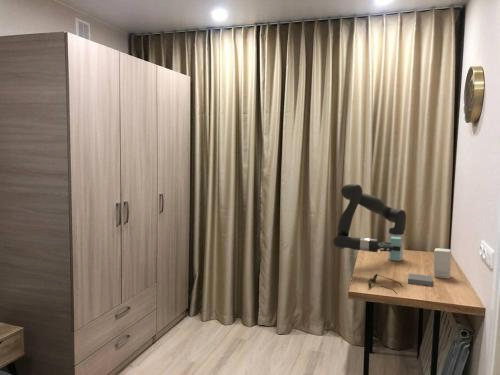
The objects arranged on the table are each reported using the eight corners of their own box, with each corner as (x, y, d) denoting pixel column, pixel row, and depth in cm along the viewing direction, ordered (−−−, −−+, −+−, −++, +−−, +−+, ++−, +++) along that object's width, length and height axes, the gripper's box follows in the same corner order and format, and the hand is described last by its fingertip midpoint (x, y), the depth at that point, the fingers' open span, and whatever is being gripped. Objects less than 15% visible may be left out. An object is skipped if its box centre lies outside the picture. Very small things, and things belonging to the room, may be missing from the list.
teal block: (390, 257, 229) (391, 236, 228) (400, 258, 227) (401, 237, 226) (390, 259, 225) (390, 238, 224) (399, 260, 223) (400, 239, 222)
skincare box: (450, 276, 231) (451, 249, 229) (449, 279, 225) (450, 251, 224) (434, 273, 235) (435, 247, 234) (433, 277, 229) (434, 250, 228)
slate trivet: (408, 277, 228) (409, 273, 228) (432, 280, 223) (432, 276, 223) (407, 283, 219) (408, 278, 219) (432, 286, 214) (432, 281, 214)
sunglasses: (375, 282, 222) (376, 273, 222) (403, 289, 214) (405, 280, 214) (367, 289, 211) (368, 280, 210) (396, 297, 202) (397, 288, 202)
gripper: (367, 241, 225) (399, 244, 217) (371, 235, 237) (402, 238, 230) (367, 254, 225) (399, 257, 218) (370, 248, 238) (401, 251, 231)
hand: (400, 247), depth 224 cm, fingers closed on teal block, 5 cm apart
